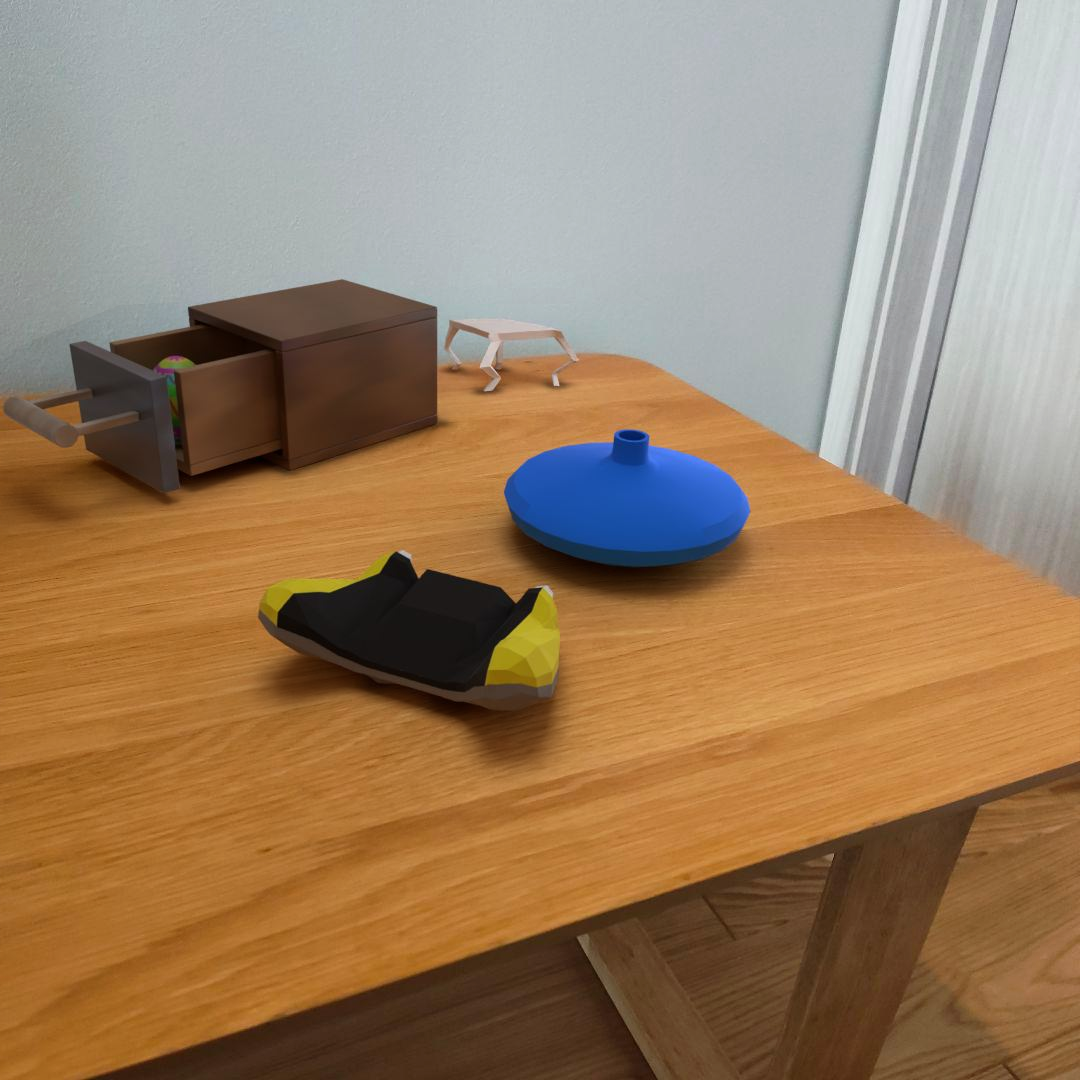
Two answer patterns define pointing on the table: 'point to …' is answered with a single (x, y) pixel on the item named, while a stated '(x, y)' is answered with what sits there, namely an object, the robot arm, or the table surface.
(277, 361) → the cabinet
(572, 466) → the vase
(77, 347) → the drawer
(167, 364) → the egg
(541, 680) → the black and yellow shoe
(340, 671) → the table surface
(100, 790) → the table surface
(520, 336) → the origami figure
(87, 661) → the table surface
